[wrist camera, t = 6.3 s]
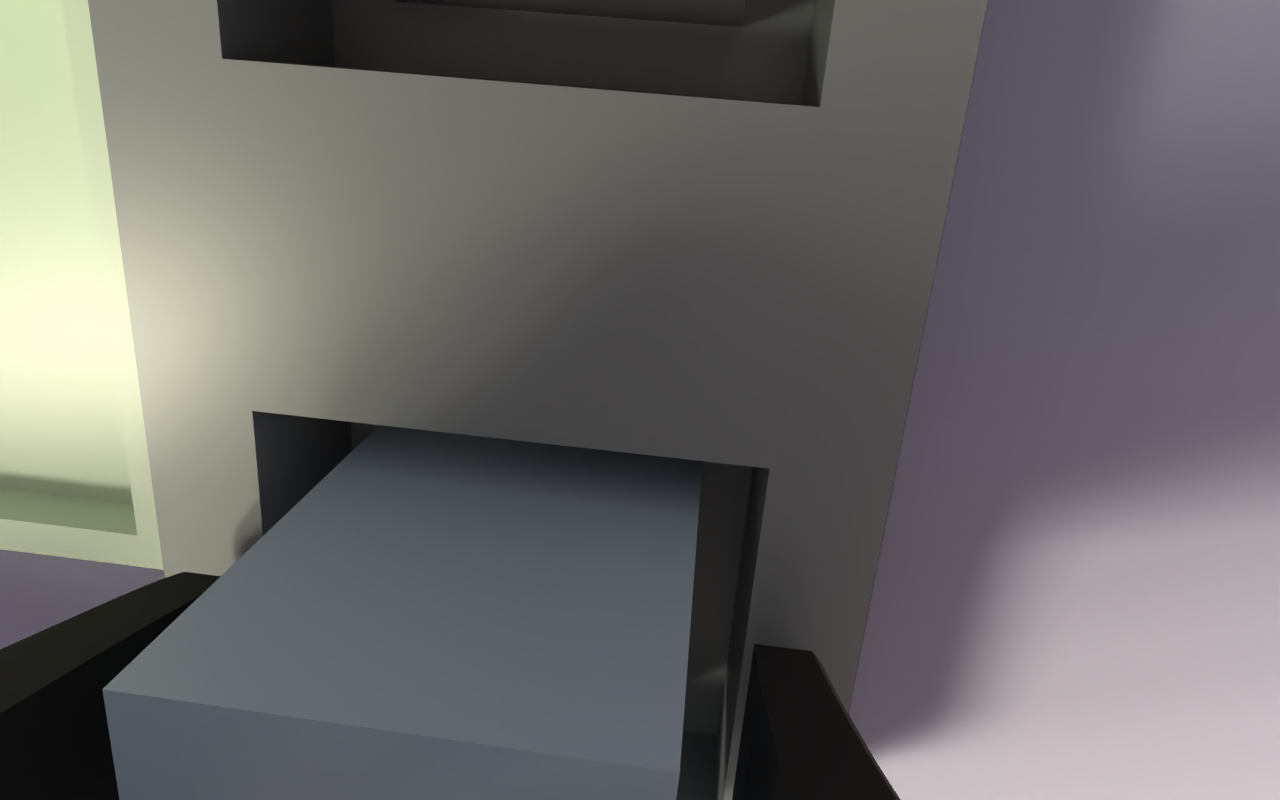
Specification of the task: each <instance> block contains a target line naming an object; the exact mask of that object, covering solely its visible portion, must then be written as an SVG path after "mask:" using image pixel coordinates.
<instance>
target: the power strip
mask: <svg viewBox="0 0 1280 800" xmlns="http://www.w3.org/2000/svg"><path fill="white" fill-rule="evenodd" d="M987 3H988V0H746V1H745V10H744V19H743V27H730V26H717V25H703V24H690V23H677V22H663V21H650V20H637V19H623V18H610V17H596V16H583V15H570V14H556V13H543V12H530V11H516V10H503V9H490V8H476V7H463V6H449V5H436V4H423V3H409V2H396V1H391V0H88V5H89V12H90V20H91V27H92V35H93V42H94V50H95V57H96V65H97V72H98V80H99V87H100V95H101V102H102V110H103V117H104V125H105V132H106V140H107V148H108V155H109V163H110V170H111V178H112V185H113V193H114V200H115V208H116V215H117V223H118V230H119V238H120V245H121V253H122V260H123V268H124V275H125V283H126V291H127V298H128V306H129V313H130V321H131V328H132V336H133V343H134V351H135V358H136V366H137V373H138V381H139V388H140V396H141V403H142V411H143V418H144V426H145V433H146V441H147V449H148V456H149V464H150V471H151V479H152V486H153V494H154V501H155V509H156V516H157V524H158V531H159V539H160V546H161V554H162V561H163V569H164V576H165V578H167V577H170V576H173V575H176V574H178V573H181V572H191V573H199V574H207V575H215V576H222V575H223V574H224V573H225V572H226V571H227V570H228V569H229V568H230V567H231V566H232V565H233V564H234V563H235V562H236V561H237V560H239V559H240V558H241V557H242V556H243V555H244V554H245V553H246V552H247V551H248V550H249V549H250V548H251V547H252V546H253V545H254V544H255V543H256V542H257V541H258V540H260V539H261V538H262V537H263V536H264V535H265V534H266V533H267V532H268V531H269V530H270V529H271V528H272V527H273V526H274V525H275V524H276V523H277V522H278V521H279V520H280V519H282V518H283V517H284V516H285V515H286V514H287V513H288V512H289V511H290V510H291V509H292V508H293V507H294V506H295V505H296V504H297V503H298V502H299V501H300V500H301V499H302V498H304V497H305V496H306V495H307V494H308V493H309V492H310V491H311V490H312V489H313V488H314V487H315V486H316V485H317V484H318V483H319V482H320V481H321V480H322V479H323V478H325V477H326V476H327V475H328V474H329V473H330V472H331V471H332V470H333V469H334V468H335V467H336V466H337V465H338V464H339V463H340V462H341V461H342V460H343V459H344V458H345V457H347V456H348V455H349V454H350V453H351V452H352V451H353V450H354V449H355V448H356V447H357V446H358V445H359V444H360V443H361V442H362V441H363V440H364V439H365V438H366V437H367V436H369V435H370V434H371V433H372V432H373V431H374V430H375V429H376V428H377V427H378V426H379V425H383V426H392V427H401V428H410V429H419V430H428V431H437V432H446V433H455V434H464V435H473V436H482V437H490V438H499V439H508V440H517V441H526V442H535V443H544V444H553V445H562V446H571V447H580V448H589V449H598V450H607V451H616V452H625V453H634V454H643V455H652V456H661V457H670V458H679V459H687V460H696V461H702V474H701V487H700V501H699V515H698V529H697V542H696V556H695V570H694V583H693V597H692V611H691V625H690V638H689V652H688V666H687V679H686V693H685V707H684V721H683V734H682V748H681V762H680V774H679V782H678V789H677V797H676V800H732V795H733V788H734V781H735V774H736V767H737V760H738V753H739V746H740V739H741V732H742V725H743V718H744V711H745V704H746V697H747V691H748V684H749V677H750V670H751V663H752V656H753V649H754V644H760V645H768V646H776V647H784V648H791V649H799V650H807V651H812V652H813V653H814V654H815V655H816V657H817V658H818V659H819V660H820V662H821V663H822V666H823V668H824V670H825V672H826V674H827V675H828V677H829V679H830V681H831V683H832V685H833V687H834V689H835V691H836V693H837V695H838V696H839V698H840V700H841V702H842V704H843V706H844V707H845V709H846V711H847V713H848V714H849V709H850V704H851V698H852V693H853V688H854V683H855V678H856V673H857V668H858V663H859V658H860V652H861V647H862V642H863V637H864V632H865V627H866V622H867V617H868V612H869V606H870V601H871V596H872V591H873V586H874V581H875V576H876V571H877V566H878V560H879V555H880V550H881V545H882V540H883V535H884V530H885V525H886V520H887V514H888V509H889V504H890V499H891V494H892V489H893V484H894V479H895V474H896V468H897V463H898V458H899V453H900V448H901V443H902V438H903V433H904V427H905V422H906V417H907V412H908V407H909V402H910V397H911V392H912V387H913V381H914V376H915V371H916V366H917V361H918V356H919V351H920V346H921V341H922V335H923V330H924V325H925V320H926V315H927V310H928V305H929V300H930V295H931V289H932V284H933V279H934V274H935V269H936V264H937V259H938V254H939V249H940V243H941V238H942V233H943V228H944V223H945V218H946V213H947V208H948V203H949V197H950V192H951V187H952V182H953V177H954V172H955V167H956V162H957V157H958V151H959V146H960V141H961V136H962V131H963V126H964V121H965V116H966V110H967V105H968V100H969V95H970V90H971V85H972V80H973V75H974V70H975V64H976V59H977V54H978V49H979V44H980V39H981V34H982V29H983V24H984V18H985V13H986V8H987Z"/></svg>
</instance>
